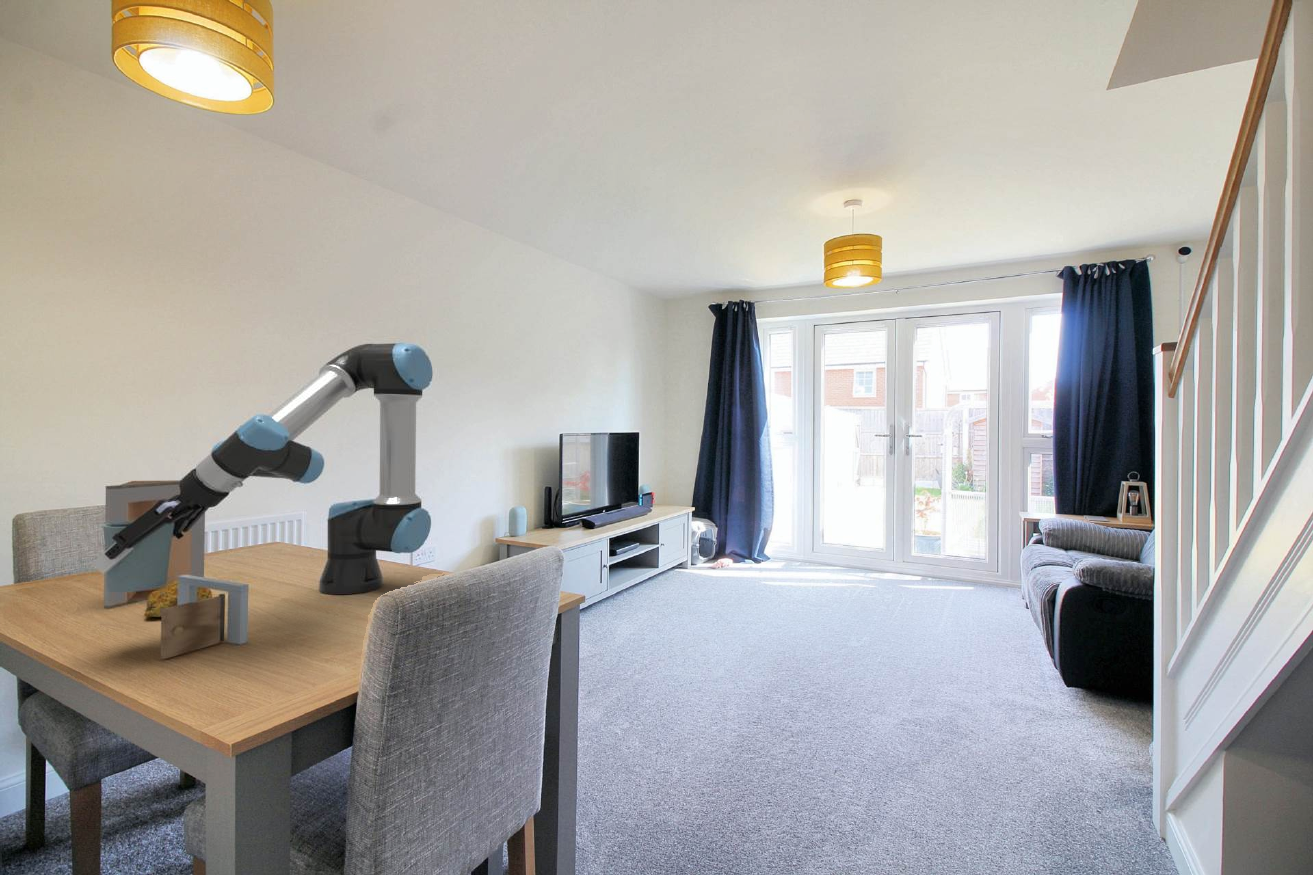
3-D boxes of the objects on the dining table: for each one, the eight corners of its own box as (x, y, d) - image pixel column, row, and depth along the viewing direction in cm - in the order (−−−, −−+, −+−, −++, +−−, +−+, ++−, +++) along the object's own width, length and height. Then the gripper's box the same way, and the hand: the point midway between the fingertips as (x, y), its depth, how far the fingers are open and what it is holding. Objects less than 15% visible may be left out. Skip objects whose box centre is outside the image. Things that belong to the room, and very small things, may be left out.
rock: (177, 638, 131) (135, 610, 127) (173, 634, 137) (133, 607, 133) (222, 595, 137) (183, 568, 133) (216, 593, 143) (179, 567, 139)
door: (222, 640, 118) (223, 593, 118) (229, 641, 117) (230, 594, 117) (160, 658, 109) (161, 607, 109) (167, 660, 108) (168, 609, 108)
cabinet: (108, 608, 136) (110, 486, 136) (81, 603, 139) (83, 484, 139) (203, 586, 156) (205, 479, 155) (178, 582, 159) (180, 477, 158)
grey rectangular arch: (247, 641, 119) (248, 584, 118) (239, 644, 117) (241, 586, 117) (184, 629, 124) (185, 574, 124) (176, 631, 123) (177, 576, 123)
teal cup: (91, 594, 106) (92, 527, 106) (115, 581, 116) (117, 519, 115) (162, 590, 110) (163, 525, 110) (180, 577, 120) (181, 517, 120)
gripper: (188, 501, 103) (86, 592, 102) (259, 488, 126) (177, 562, 124) (155, 470, 103) (52, 560, 101) (233, 462, 125) (150, 537, 123)
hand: (121, 562), depth 113 cm, fingers closed on teal cup, 10 cm apart
